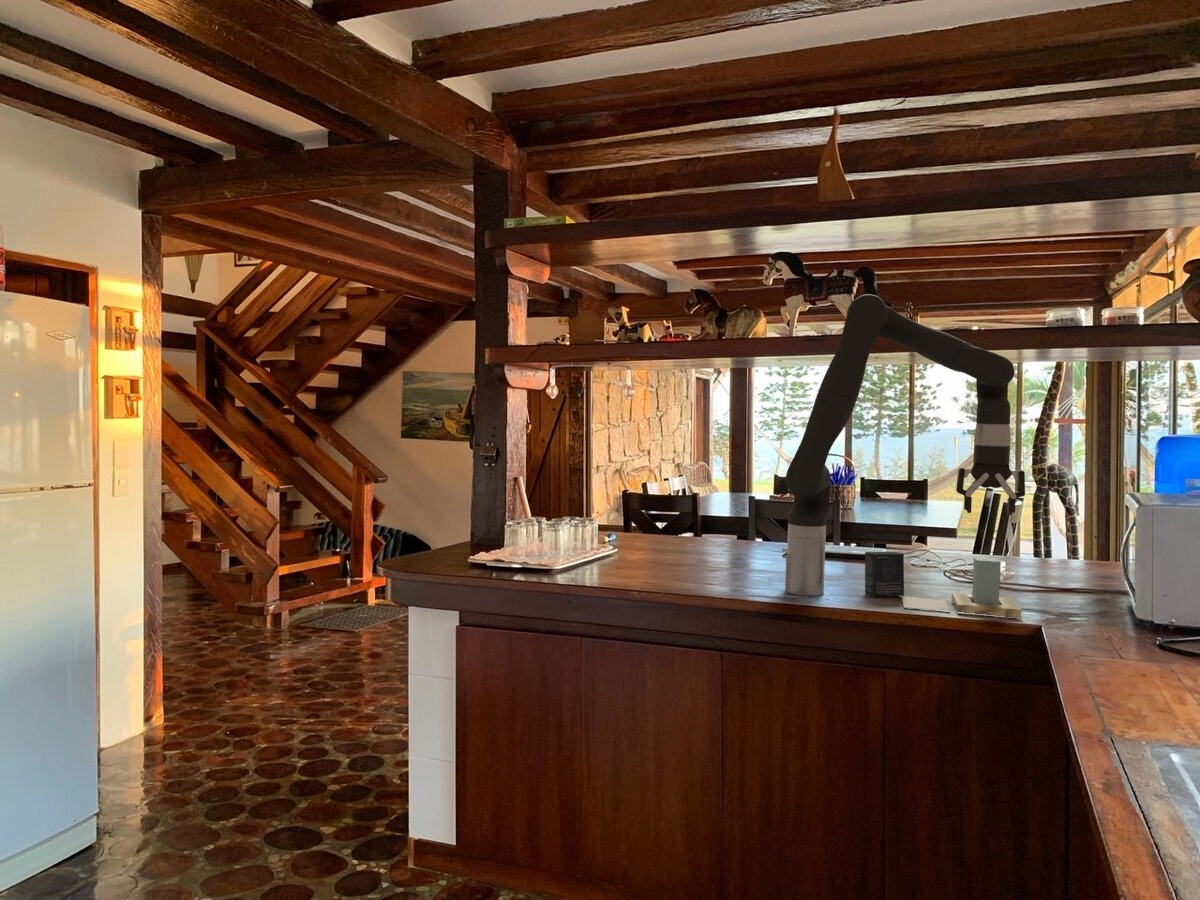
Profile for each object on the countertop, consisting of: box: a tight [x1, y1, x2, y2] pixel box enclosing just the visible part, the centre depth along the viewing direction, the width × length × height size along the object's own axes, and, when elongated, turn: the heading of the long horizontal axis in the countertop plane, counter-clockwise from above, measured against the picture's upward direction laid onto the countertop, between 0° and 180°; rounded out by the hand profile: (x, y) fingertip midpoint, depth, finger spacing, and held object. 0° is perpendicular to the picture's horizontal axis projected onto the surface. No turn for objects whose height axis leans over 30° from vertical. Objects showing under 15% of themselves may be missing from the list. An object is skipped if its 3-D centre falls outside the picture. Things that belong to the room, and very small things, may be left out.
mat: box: [900, 596, 950, 610], centre depth 196 cm, size 10×12×1 cm
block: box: [971, 556, 1002, 605], centre depth 192 cm, size 5×5×12 cm
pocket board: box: [951, 592, 1022, 620], centre depth 192 cm, size 13×13×2 cm
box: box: [864, 551, 905, 597], centre depth 205 cm, size 8×6×11 cm
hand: (989, 513), depth 191 cm, fingers open, 8 cm apart
